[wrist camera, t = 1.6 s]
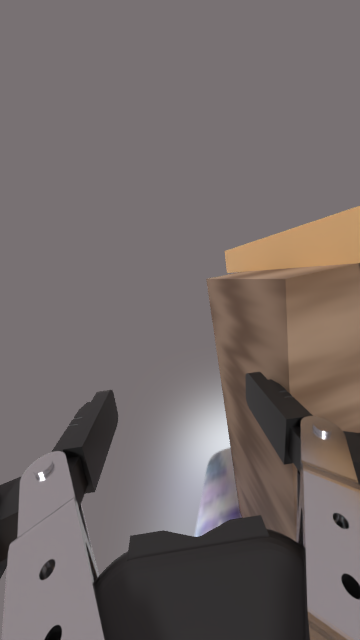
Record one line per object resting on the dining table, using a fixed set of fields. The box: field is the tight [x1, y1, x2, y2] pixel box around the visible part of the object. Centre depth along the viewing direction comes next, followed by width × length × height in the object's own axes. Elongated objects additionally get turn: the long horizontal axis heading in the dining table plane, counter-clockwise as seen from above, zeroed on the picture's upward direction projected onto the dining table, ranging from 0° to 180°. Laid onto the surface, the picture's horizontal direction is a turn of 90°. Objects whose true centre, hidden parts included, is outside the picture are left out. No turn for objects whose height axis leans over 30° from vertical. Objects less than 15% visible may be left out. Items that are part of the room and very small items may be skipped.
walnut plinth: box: [207, 263, 360, 541], centre depth 17 cm, size 10×10×32 cm
